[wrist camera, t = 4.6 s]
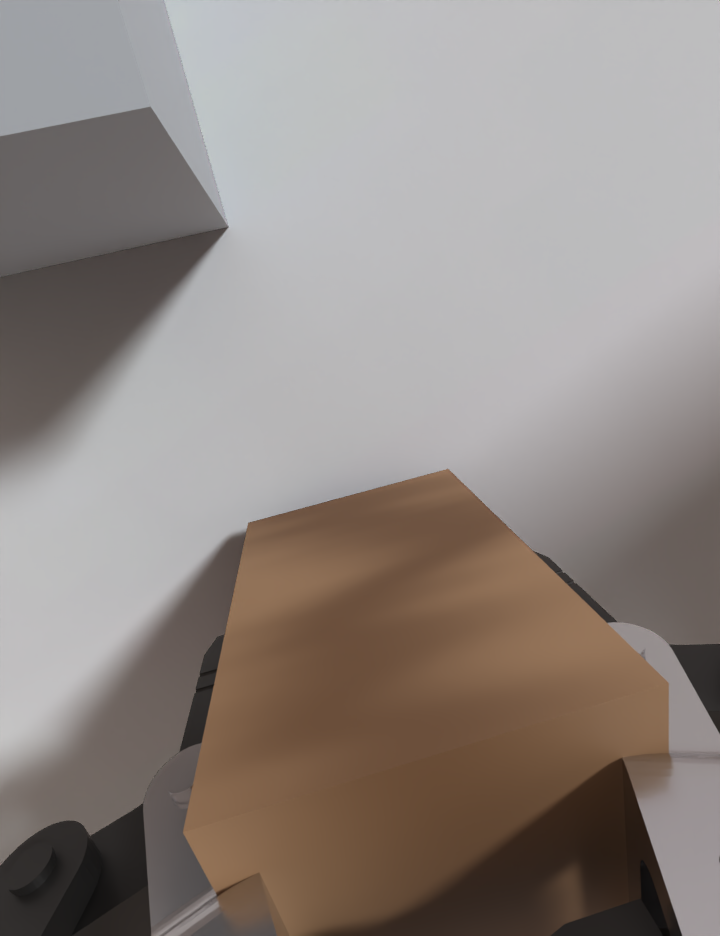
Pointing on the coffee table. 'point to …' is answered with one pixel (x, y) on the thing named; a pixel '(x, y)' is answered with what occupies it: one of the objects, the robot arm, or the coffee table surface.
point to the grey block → (96, 133)
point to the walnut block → (418, 725)
